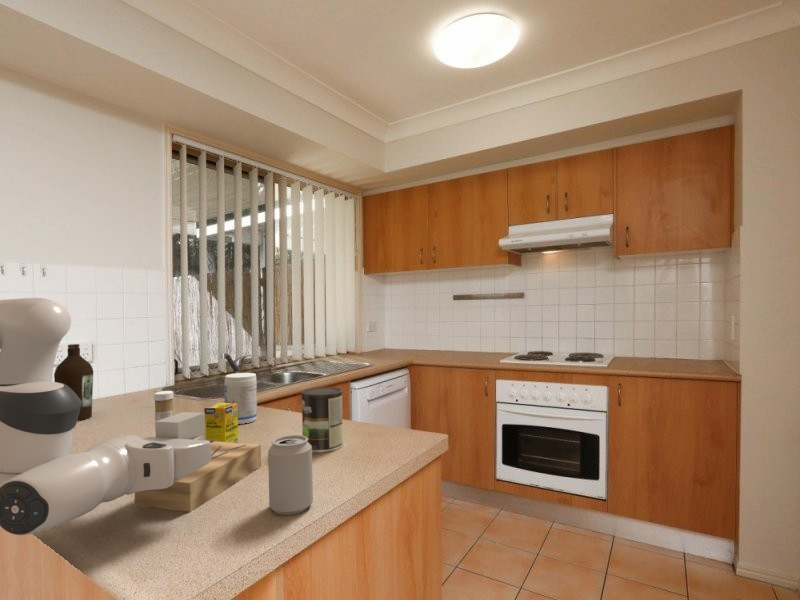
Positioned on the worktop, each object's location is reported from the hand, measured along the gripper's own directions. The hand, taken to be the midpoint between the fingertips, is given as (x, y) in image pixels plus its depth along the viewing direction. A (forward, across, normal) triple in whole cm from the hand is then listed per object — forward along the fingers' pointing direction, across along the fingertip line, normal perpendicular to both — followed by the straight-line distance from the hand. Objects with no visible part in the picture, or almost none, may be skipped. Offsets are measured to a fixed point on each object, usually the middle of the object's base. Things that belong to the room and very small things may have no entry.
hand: (185, 439), depth 84 cm
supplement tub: (+51, -23, -11) cm, 57 cm away
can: (-1, +23, -11) cm, 25 cm away
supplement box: (+26, -12, -11) cm, 31 cm away
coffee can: (+32, +14, -11) cm, 37 cm away
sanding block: (-1, 0, -6) cm, 6 cm away
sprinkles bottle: (+28, -31, -11) cm, 43 cm away
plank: (+5, 0, -10) cm, 12 cm away
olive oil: (+44, -82, -11) cm, 94 cm away
